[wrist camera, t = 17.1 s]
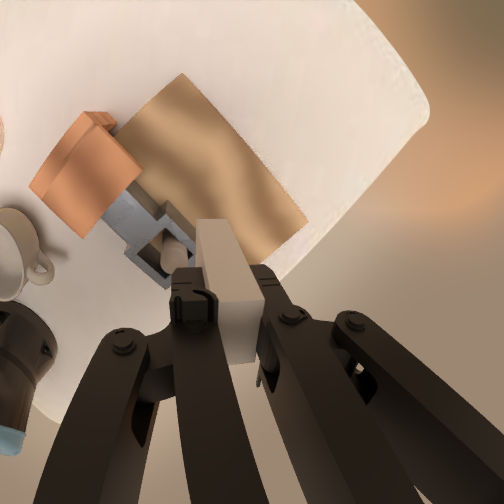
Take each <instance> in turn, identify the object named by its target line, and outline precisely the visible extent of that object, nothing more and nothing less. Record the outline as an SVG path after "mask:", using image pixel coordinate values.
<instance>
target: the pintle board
mask: <svg viewBox="0 0 504 504" xmlns="http://www.w3.org/2000/svg"><path fill="white" fill-rule="evenodd" d="M116 124H117V122H116V121H115V120H114V119H113V118H112V117H111V116H110V115H109V114H108V113H107V112H86V111H83V113H82V114H81V115H80V116H79V117H78V118H77V120H76V121H75V122H74V123H73V124H72V126H71V127H70V128H69V129H68V131H67V132H66V133H65V134H64V136H63V137H62V138H61V140H60V141H59V142H58V144H57V145H56V146H55V148H54V149H53V150H52V152H51V153H50V155H49V156H48V157H47V159H46V160H45V162H44V163H43V165H42V166H41V168H40V169H39V171H38V172H37V174H36V175H35V177H34V178H33V180H32V182H31V183H30V185H29V186H28V187H29V188H30V189H31V190H32V191H33V192H34V193H35V194H36V195H37V196H38V197H39V198H40V199H41V200H42V201H43V202H44V203H45V204H46V205H47V206H48V207H49V208H50V209H51V210H52V211H53V212H54V213H55V214H56V215H57V216H58V217H59V218H60V219H61V220H62V221H63V222H64V223H65V224H67V225H68V226H69V227H70V228H71V229H72V230H73V231H74V232H75V233H76V234H77V235H79V236H80V237H81V238H82V239H84V237H85V236H86V235H87V233H88V232H89V231H90V230H91V228H92V227H93V226H94V225H95V223H96V222H97V221H98V220H99V219H100V217H101V216H102V215H103V214H104V213H105V211H106V210H107V209H108V208H109V207H110V206H111V204H112V203H113V202H114V201H115V200H116V199H117V198H118V197H119V195H120V194H121V193H122V192H123V191H124V190H125V189H126V188H127V187H128V186H129V184H130V183H131V182H132V181H133V180H135V181H136V182H137V183H138V184H139V185H140V186H141V187H142V188H143V189H144V190H145V191H146V192H147V193H148V194H149V195H150V196H151V197H152V198H153V199H154V201H155V202H156V203H157V204H158V205H159V206H161V205H162V204H163V203H164V202H165V201H167V200H169V202H170V203H171V204H172V205H173V206H174V207H175V208H176V209H177V210H178V211H179V212H180V213H181V214H182V215H183V216H184V217H185V218H186V219H187V220H188V221H189V222H190V223H191V224H192V225H193V226H194V227H195V228H196V219H227V220H228V222H229V224H230V226H231V228H232V231H233V233H234V235H235V237H236V239H237V241H238V243H239V246H240V248H241V250H242V252H243V254H244V256H245V258H246V261H247V263H248V265H258V264H260V263H261V262H262V261H263V260H264V259H266V258H267V257H268V256H269V255H270V254H272V253H273V252H274V251H275V250H276V249H277V248H279V247H280V246H281V245H282V244H283V243H285V242H286V241H287V240H288V239H289V238H290V237H292V236H293V235H294V234H295V233H296V232H297V231H299V230H300V229H301V228H302V227H303V226H304V225H306V224H307V223H308V220H307V219H306V218H305V216H304V215H303V214H302V212H301V211H300V210H299V208H298V207H297V206H296V204H295V203H294V202H293V201H292V199H291V198H290V197H289V195H288V194H287V193H286V192H285V190H284V189H283V188H282V187H281V185H280V184H279V183H278V182H277V180H276V179H275V178H274V177H273V175H272V174H271V173H270V172H269V170H268V169H267V168H266V167H265V165H264V164H263V163H262V162H261V161H260V159H259V158H258V157H257V156H256V155H255V153H254V152H253V151H252V150H251V149H250V147H249V146H248V145H247V144H246V143H245V142H244V140H243V139H242V138H241V137H240V136H239V134H238V133H237V132H236V131H235V130H234V129H233V128H232V126H231V125H230V124H229V123H228V122H227V121H226V120H225V118H224V117H223V116H222V115H221V114H220V113H219V112H218V111H217V109H216V108H215V107H214V106H213V105H212V104H211V103H210V102H209V101H208V100H207V98H206V97H205V96H204V95H203V94H202V93H201V92H200V91H199V90H198V89H197V88H196V87H195V86H194V85H193V83H192V82H191V81H190V80H189V79H188V78H187V77H186V76H185V75H184V74H183V73H182V74H180V75H179V76H178V77H177V78H176V79H174V80H173V81H172V82H171V83H170V84H168V85H167V86H166V87H165V88H164V89H163V90H161V91H160V92H159V93H158V94H157V95H156V96H155V97H154V98H153V99H151V100H150V101H149V102H148V103H147V104H146V105H145V106H144V107H143V108H142V109H141V110H140V111H139V112H138V113H137V114H136V115H135V116H134V117H133V118H132V119H131V120H130V121H129V122H128V123H127V124H126V125H125V126H124V127H123V128H122V129H121V130H120V131H119V132H118V133H117V134H116V135H115V136H114V137H112V136H111V135H110V134H109V133H108V132H109V131H110V130H111V129H112V128H113V127H114V126H115V125H116ZM149 243H150V244H152V245H153V246H154V247H155V248H156V249H157V250H158V251H159V252H160V253H161V260H160V264H161V267H162V269H163V270H164V271H165V272H166V273H168V274H172V273H173V272H174V271H175V269H176V268H183V267H187V266H188V255H187V248H186V247H185V246H184V245H183V244H182V243H181V242H180V241H179V240H178V239H177V238H176V237H175V236H174V235H173V234H172V233H171V232H170V231H169V230H168V229H167V228H166V227H165V228H164V229H163V230H162V231H160V232H159V233H158V234H157V235H156V236H155V237H154V238H153V239H152V240H151V241H150V242H149ZM194 267H195V266H194Z"/></svg>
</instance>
